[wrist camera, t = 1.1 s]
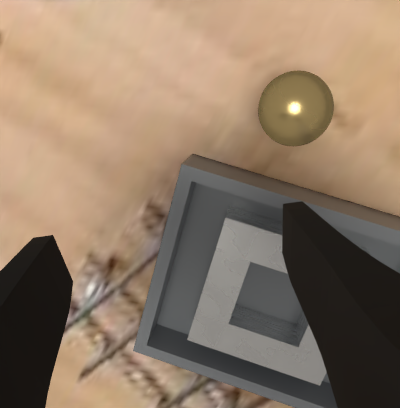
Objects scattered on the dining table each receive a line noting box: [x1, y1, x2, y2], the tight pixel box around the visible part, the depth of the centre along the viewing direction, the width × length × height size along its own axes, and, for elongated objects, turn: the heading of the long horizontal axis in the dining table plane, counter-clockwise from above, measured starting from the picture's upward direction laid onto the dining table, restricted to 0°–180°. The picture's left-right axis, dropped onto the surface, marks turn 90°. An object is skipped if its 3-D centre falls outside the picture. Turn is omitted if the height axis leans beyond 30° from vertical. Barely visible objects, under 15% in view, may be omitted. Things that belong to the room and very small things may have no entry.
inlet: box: [187, 205, 371, 386], centre depth 25 cm, size 9×9×2 cm
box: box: [133, 154, 400, 408], centre depth 25 cm, size 16×14×4 cm
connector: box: [258, 71, 334, 146], centre depth 20 cm, size 3×3×7 cm
